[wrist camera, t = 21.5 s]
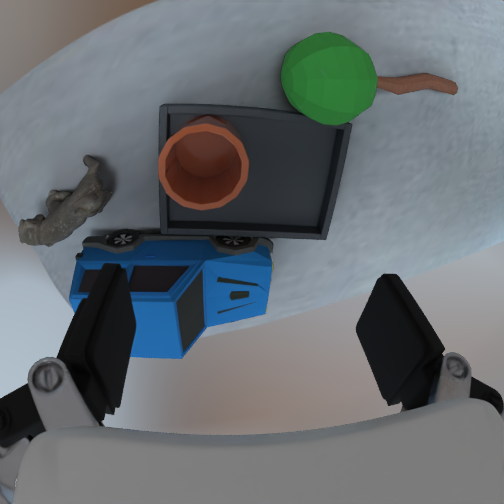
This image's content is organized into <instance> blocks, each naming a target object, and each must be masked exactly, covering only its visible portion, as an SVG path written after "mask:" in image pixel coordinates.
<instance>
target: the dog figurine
mask: <svg viewBox="0 0 504 504" xmlns="http://www.w3.org/2000/svg"><path fill="white" fill-rule="evenodd" d="M83 162H84V164H85V165H86V166H88V167H89V170H88V172H87V174H86V175H85V176H84V178H83V179H82V180H81V182H80V183H79V185H78V187H77V189H76V191H75V192H74V193H73V194H71V193H69V192H66V191H65V192H57V191H50V192H49V197H48V198H47V200H46V206H47V208H48V212H49V214H48V216H47V217H46V219H45V217H44V215H42V214H39V215H37V216H36V217H35V218H33V219H27V220H23V219H21V220H20V225H19V228H18V230H19V238H20V242H21V243H26V244H28V245H33V246H35V245H44V244H45V245H46V246H48V247H50V246H52V245H53V244H54V243H56V242H59V241H61V240H64V239H65V238H67V237H69V236H70V235H71V234H72V232H73V231H74V230H75V229H77V228H78V227H80V226H81V225H82V224H83V223H84V222H85V221H86V219H87V217H92V216H94V215H96V214H97V213H100V212H102V210H103V207H104V206H105V205H106V203H107V202H108V201H109V199H110V198H111V196H112V194H113V193H111V192H106V191H105V190H104V189H102V188H103V183H102V180H100V179H99V178H98V172H99V168H100V163H99V162H98V161H96V160H95V159H93V158H90V156H88V155H86V156H85V157H84V158H83ZM61 202H62V203H61Z"/></svg>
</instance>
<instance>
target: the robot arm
mask: <svg viewBox="0 0 504 504" xmlns="http://www.w3.org/2000/svg"><path fill="white" fill-rule="evenodd" d="M135 333H136V318H135V314H134V309H133V304H132V299H131V294H130V289H129V283H128V278H127V272H126V269H125V268H122V267H121V265H120V264H118V263H104V264H103V266H102V268H101V270H100V272H99V274H98V276H97V278H96V280H95V282H94V284H93V286H92V288H91V291H90V293H89V295H88V297H87V298H83V299H82V300H81V301H80V303H79V305H78V308H77V310H76V312H75V314H74V316H73V319H72V321H71V323H70V326H69V328H68V330H67V333H66V335H65V338H64V340H63V343H62V345H61V347H60V350H59V353H58V355H57V358H54V357H46V358H43V359H40V360H39V361H37V362H36V363H35V364H34V365H33V366H32V367H31V369H30V371H29V373H28V383H27V384H26V385H24V386H22V387H20V388H18V389H16V390H15V391H13V392H11V393H9V394H8V395H6V396H4V397H2V398H0V504H504V406H503V405H504V404H503V400H502V397H501V395H500V394H499V393H498V392H497V391H496V390H495V389H493V388H491V387H489V386H488V385H486V384H484V383H482V382H480V381H479V380H477V379H475V378H473V377H471V367H470V365H469V363H468V361H467V360H466V359H465V358H464V357H463V356H461V355H460V354H457V353H454V352H450V353H447V354H446V355H445V356H443V354H442V353H443V352H444V350H445V348H444V346H443V344H442V342H441V341H440V339H439V337H438V336H437V334H436V332H435V331H434V329H433V328H432V326H431V324H430V323H429V321H428V320H427V318H426V316H425V315H424V313H423V312H422V310H421V309H420V307H419V306H418V304H417V302H416V301H415V299H414V298H413V296H412V295H411V294H410V292H409V290H408V289H407V288H406V286H405V285H404V283H403V282H402V280H401V279H400V277H399V276H398V275H397V274H383V275H382V276H381V277H380V278H378V279H377V281H376V284H375V286H374V288H373V290H372V293H371V295H370V297H369V299H368V302H367V304H366V306H365V308H364V310H363V312H362V315H361V317H360V319H359V321H358V323H357V325H356V333H357V335H358V338H359V340H360V343H361V345H362V347H363V350H364V352H365V355H366V357H367V360H368V362H369V364H370V367H371V369H372V372H373V374H374V377H375V380H376V382H377V384H378V387H379V390H380V392H381V395H382V397H383V398H384V399H385V400H386V401H387V404H388V406H391V405H395V404H399V403H400V402H402V405H403V406H402V409H401V412H400V413H397V414H393V415H390V416H385V417H381V418H376V419H372V420H367V421H362V422H357V423H352V424H346V425H341V426H334V427H328V428H321V429H313V430H305V431H296V432H285V433H272V434H256V435H255V434H254V435H193V434H192V435H191V434H174V433H161V432H149V431H139V430H130V429H121V428H112V427H105V426H104V424H103V422H102V420H104V417H105V413H106V414H112V415H114V412H115V407H117V408H119V407H120V404H121V399H122V393H123V388H124V383H125V378H126V373H127V368H128V364H129V359H130V354H131V350H132V346H133V341H134V337H135ZM16 479H17V481H16ZM15 481H16V487H15Z"/></svg>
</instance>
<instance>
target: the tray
mask: <svg viewBox="0 0 504 504" xmlns="http://www.w3.org/2000/svg"><path fill="white" fill-rule="evenodd" d="M200 114H208V115H218V116H221V117H223V118H225V119H227V120H228V121H230V122H231V123H232V124H233V125H234V126H235V127H236V128H237V130H238V132H239V135H240V138H241V140H242V143H243V145H244V148H245V151H246V153H247V156H248V159H249V170H248V179H247V182H246V183H245V185H244V187H243V188H242V190H241V191H240V193H239V194H238V196H237V197H236V198H234V199H233V200H231V201H230V202H228V203H227V204H225V205H223V206H222V207H220V208H214V209H208V210H197V209H193V208H188V207H184V206H182V205H180V204H179V203H178V202H176V201H175V200H174V199H173V198H171V197H170V196H169V195H168V194H167V193H166V191H165V189H164V187H163V185H162V183H161V181H160V179H159V207H160V228H161V234H175V235H210V236H240V237H267V238H292V239H315V240H326V239H327V235H328V231H329V227H330V223H331V219H332V215H333V211H334V207H335V203H336V198H337V194H338V190H339V186H340V181H341V177H342V172H343V168H344V163H345V158H346V153H347V149H348V144H349V139H350V133H351V128H352V124H351V123H348V122H347V123H344V124H340V125H327V124H322V123H320V122H317V121H315V120H313V119H311V118H309V117H307V116H306V115H304V114H303V113H298V112H291V111H283V110H275V109H266V108H256V107H245V106H231V105H212V104H163V105H161V106H160V110H159V156H160V154H161V152H162V150H163V148H164V146H165V144H166V142H167V140H168V139H169V138H170V136H171V135H172V134H173V133H174V132H175V130H176V129H177V128H178V127H179V126H180V125H181V124H182V123H184V122H185V121H186V120H188V119H189V118H191V117H193V116H196V115H200Z"/></svg>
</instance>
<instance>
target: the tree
mask: <svg viewBox="0 0 504 504" xmlns="http://www.w3.org/2000/svg"><path fill="white" fill-rule="evenodd" d="M281 83H282V87H283V89H284V91H285V94H286V96H287V98H288V100H289V102H290V104H291V105H292V106H293V107H295V108H296V109H297V110H298V111H299V112H301V113H303V114H304V115H306V116H307V117H309V118H311V119H313V120H315V121H317V122H320V123H322V124H327V125H340V124H344V123H347V122H350V121H351V120H352V119H354V118H355V117H356V116H358V115H359V114H360V113H362V112H363V111H365V110H366V109H367V108H369V107H370V106H371V105H372V103H373V100H374V98H375V93H376V88H380V89H383V90H386V91H389V92H392V93H395V94H398V95H400V94H404V93H409V92H413V91H418V90H423V89H432V90H436V91H440V92H444V93H448V94H451V95H454V94H456V93H457V90H458V87H457V85H456V83H455V82H453V81H451V80H448V79H444V78H441V77H438V76H435V75H431V74H428V73H422V74H415V75H408V76H402V77H396V78H394V77H382V76H377V75H376V71H375V68H374V65H373V62H372V60H371V58H370V56H369V54H368V53H366V52H365V51H364V50H362V49H361V48H360V47H358V46H357V45H356V44H354V43H353V42H352V41H350V40H349V39H347V38H345V37H344V36H342V35H339V34H335V33H331V32H325V33H316V34H314V35H312V36H310V37H308V38H306V39H304V40H302V41H300V42H299V43H297V44H296V45H294V46H293V47H291V49H290V50H289V51H288V52H287V54H286V55H285V57H284V62H283V66H282V71H281Z"/></svg>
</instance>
